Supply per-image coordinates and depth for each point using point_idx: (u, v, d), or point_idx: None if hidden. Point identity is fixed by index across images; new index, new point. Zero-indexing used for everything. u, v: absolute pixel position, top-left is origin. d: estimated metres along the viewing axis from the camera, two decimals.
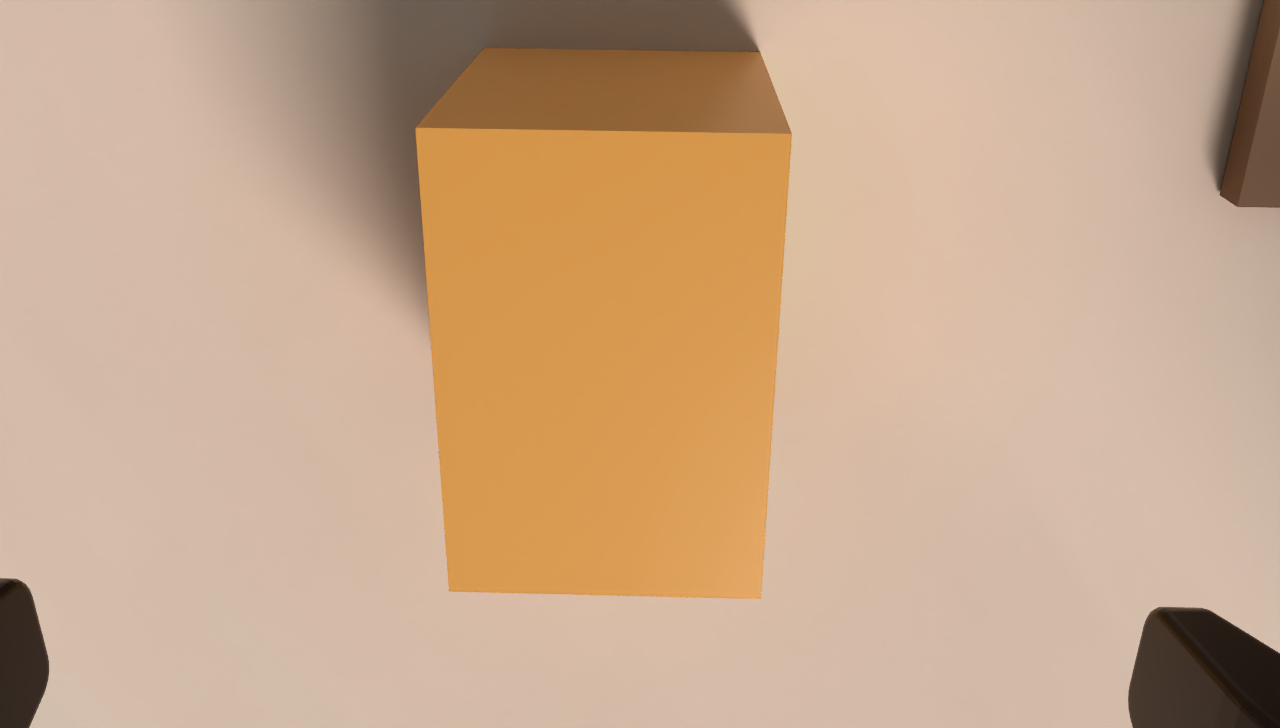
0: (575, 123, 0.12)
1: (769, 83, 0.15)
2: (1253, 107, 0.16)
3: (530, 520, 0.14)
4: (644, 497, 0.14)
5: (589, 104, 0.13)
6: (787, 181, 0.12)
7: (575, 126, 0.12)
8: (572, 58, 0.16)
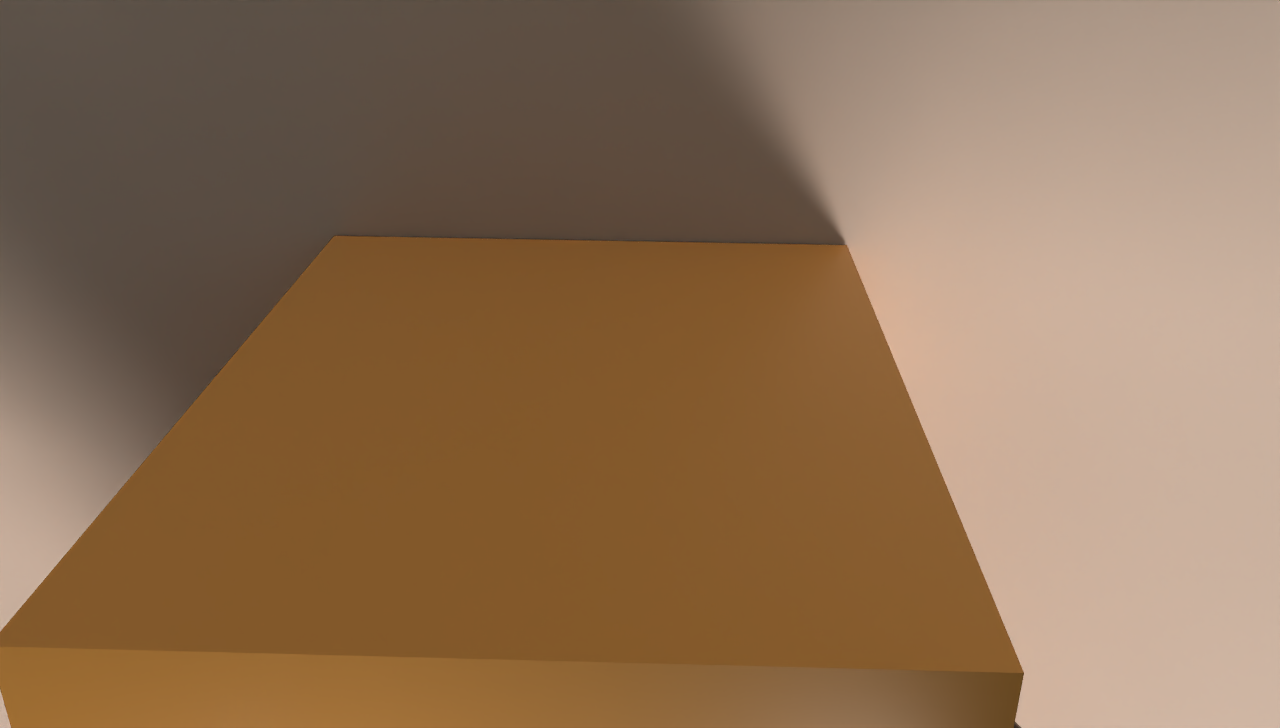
0: (434, 607, 0.05)
1: (893, 373, 0.07)
2: None
3: None
4: None
5: (490, 485, 0.06)
6: None
7: (432, 622, 0.05)
8: (489, 276, 0.08)
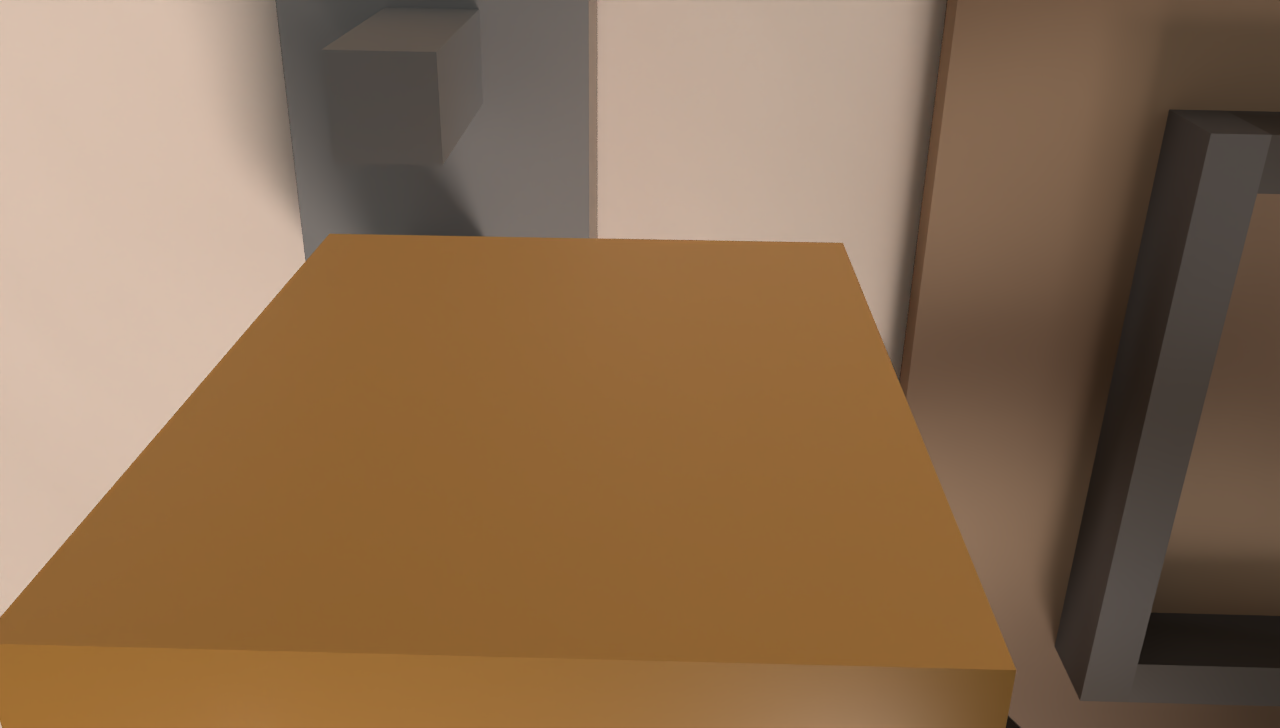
0: (425, 605, 0.05)
1: (888, 371, 0.07)
2: None
3: None
4: None
5: (483, 482, 0.06)
6: None
7: (423, 620, 0.05)
8: (484, 274, 0.08)
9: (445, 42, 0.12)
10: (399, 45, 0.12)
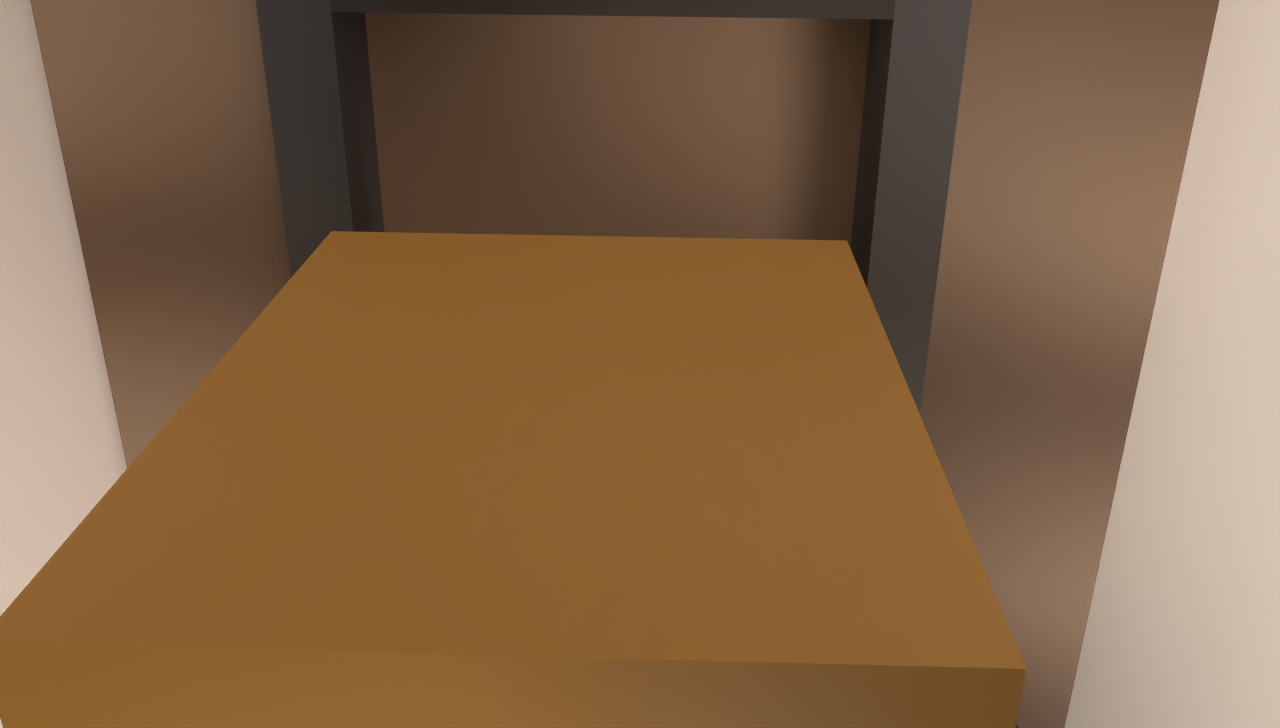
0: (429, 603, 0.05)
1: (894, 369, 0.07)
2: None
3: None
4: None
5: (487, 480, 0.06)
6: None
7: (427, 619, 0.05)
8: (487, 271, 0.08)
9: None
10: None
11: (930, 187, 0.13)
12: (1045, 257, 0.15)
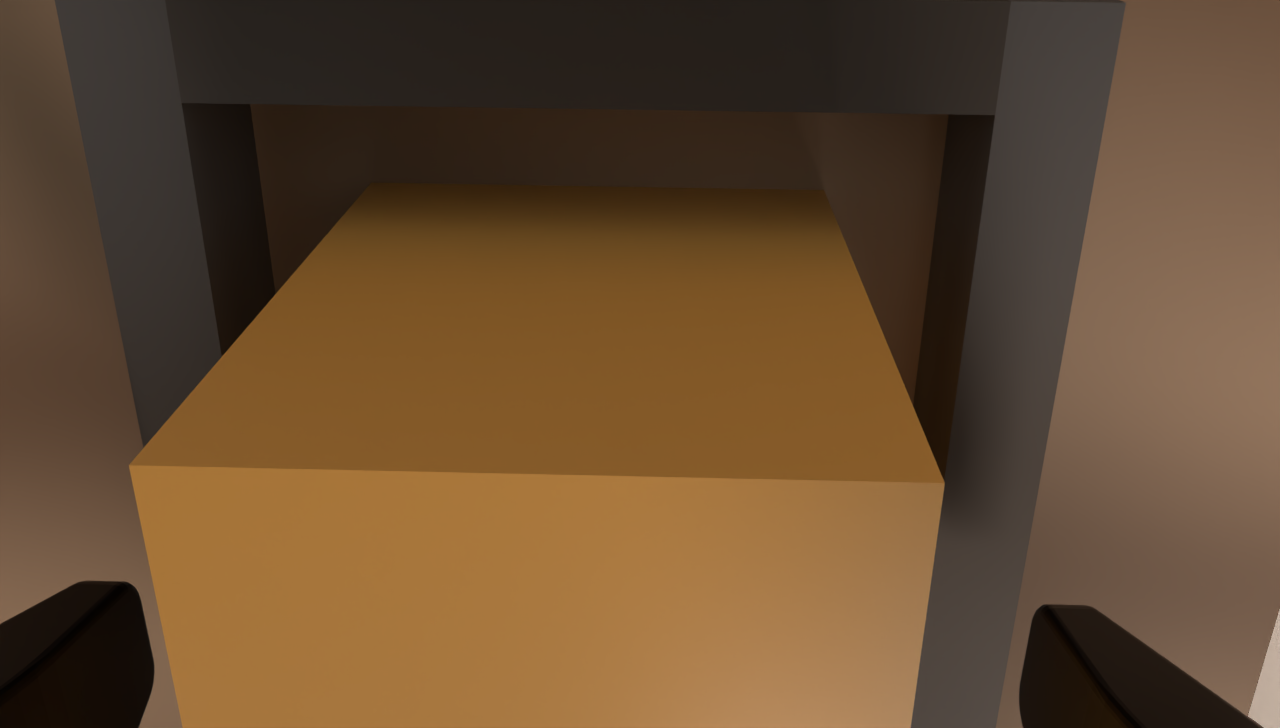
0: (478, 441, 0.06)
1: (858, 285, 0.08)
2: None
3: None
4: None
5: (519, 362, 0.07)
6: (930, 565, 0.06)
7: (477, 451, 0.06)
8: (510, 213, 0.09)
9: None
10: None
11: (1038, 344, 0.09)
12: (1176, 414, 0.11)
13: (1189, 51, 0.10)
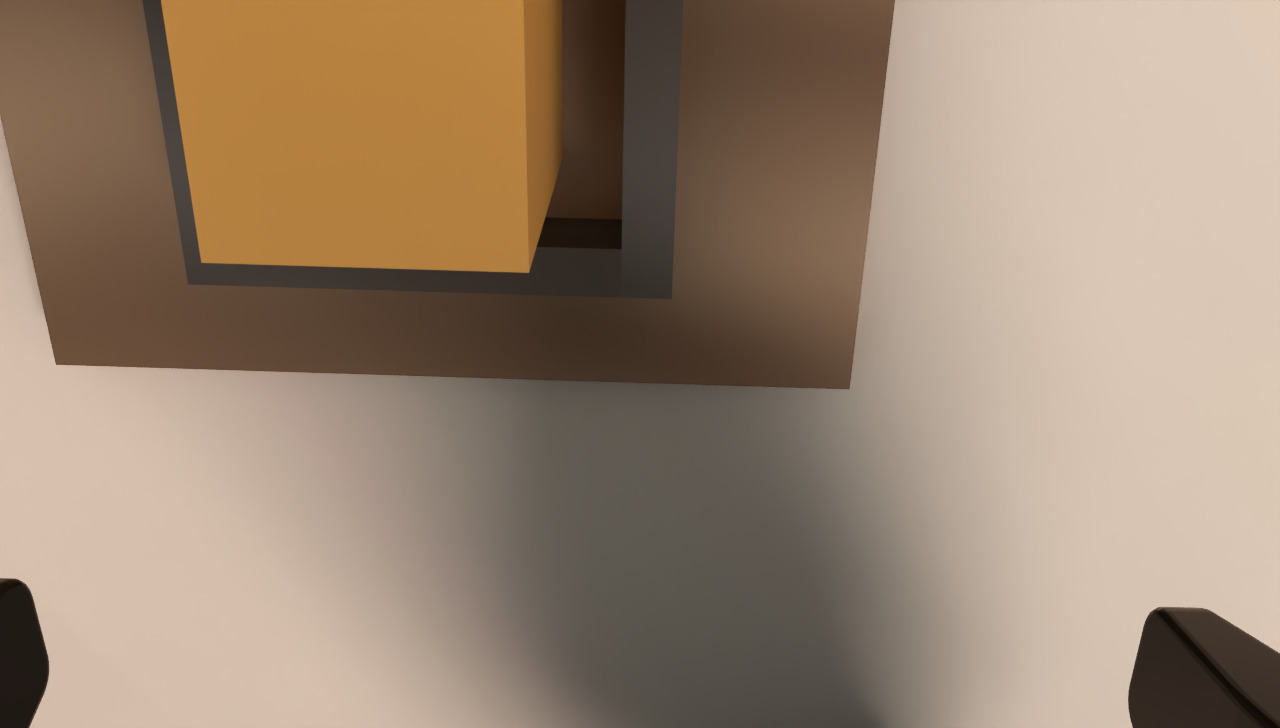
0: None
1: None
2: (45, 287, 0.20)
3: (280, 178, 0.14)
4: (396, 150, 0.13)
5: None
6: None
7: None
8: None
9: None
10: None
11: None
12: None
13: None
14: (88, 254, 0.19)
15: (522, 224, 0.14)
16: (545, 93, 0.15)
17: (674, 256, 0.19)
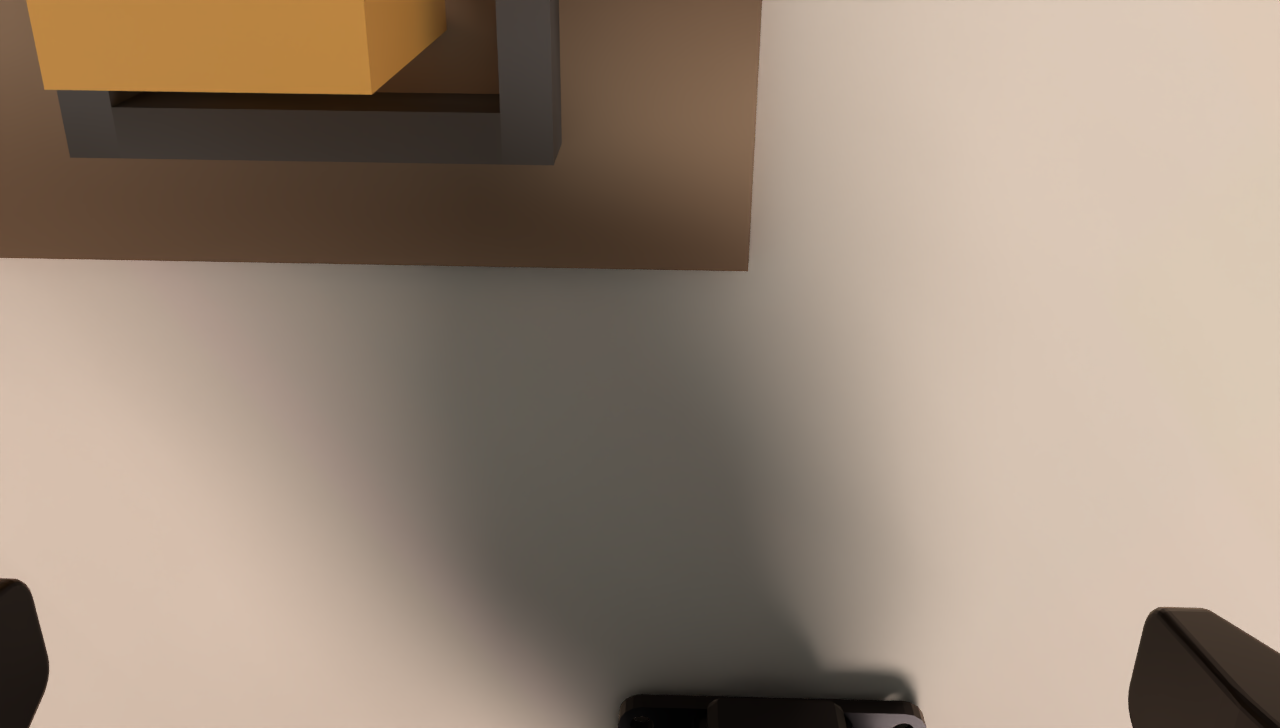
0: None
1: None
2: None
3: None
4: None
5: None
6: None
7: None
8: None
9: None
10: None
11: None
12: None
13: None
14: None
15: (361, 42, 0.14)
16: None
17: (564, 132, 0.19)
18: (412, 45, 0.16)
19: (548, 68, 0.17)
